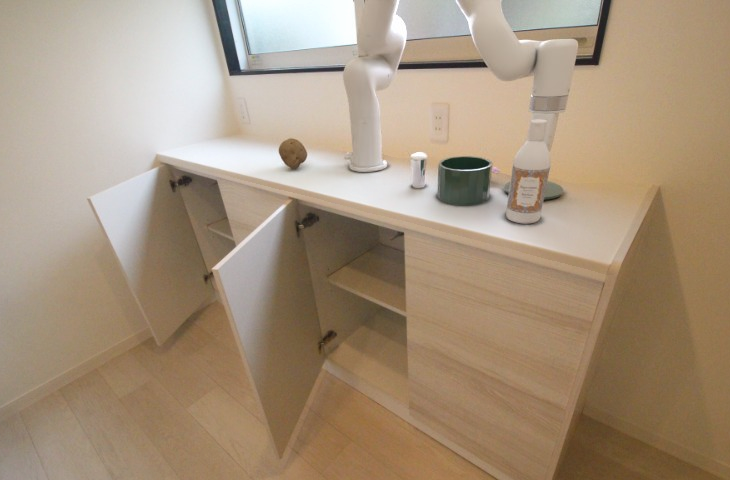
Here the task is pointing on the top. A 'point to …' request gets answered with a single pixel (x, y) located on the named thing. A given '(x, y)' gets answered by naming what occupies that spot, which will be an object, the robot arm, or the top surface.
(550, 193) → the pot lid
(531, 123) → the bath foam
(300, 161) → the brown potato
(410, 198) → the top surface
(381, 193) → the top surface
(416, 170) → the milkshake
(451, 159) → the pot
